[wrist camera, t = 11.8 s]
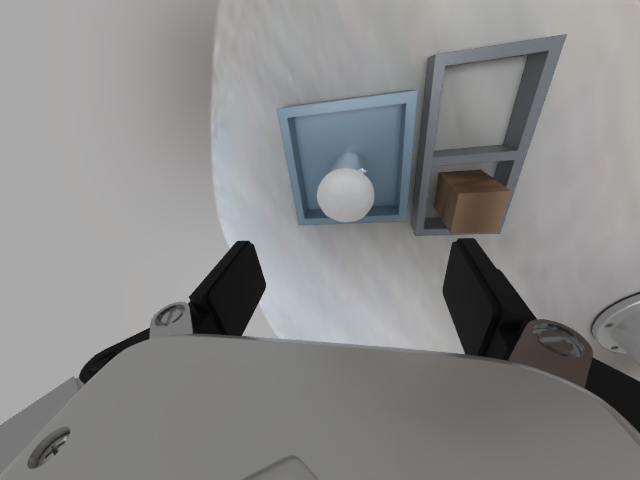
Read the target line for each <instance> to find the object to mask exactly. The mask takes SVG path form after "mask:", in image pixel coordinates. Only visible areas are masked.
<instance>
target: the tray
mask: <svg viewBox="0 0 640 480" xmlns="http://www.w3.org/2000/svg"><path fill="white" fill-rule="evenodd" d="M417 92H418V91H417V90H407V91H400V92H392V93H385V94H377V95H370V96H362V97H354V98H347V99H339V100H332V101H324V102H317V103H309V104H302V105H294V106H287V107H282V108H279V109H277V113H278V118H279V123H280V128H281V134H282V139H283V144H284V150H285V155H286V160H287V165H288V171H289V176H290V181H291V186H292V192H293V197H294V202H295V208H296V213H297V218H298V223H299V225H320V224H346V223H373V222H400V221H406V219H407V208H408V196H409V185H410V173H411V162H412V150H413V139H414V127H415V116H416V104H417ZM345 153H354V154H357V155H358V156H359V157H360V158H361V159H362V160H363V161H364V164H365V167H366V170H367V173H368V176H369V179H370V181H371V183H372V185H373V189H374V203H373V205H372V207H371V209H370V210H369V212H368V213H367V214H366V215H365V216H364V217H363V218H361V219H360V220H357V221H353V222H339V221H336V220H334V219H331V218H330V217H328V216H327V215H325V213H324V212H323V211H322V209H321V208H320V206H319V204H318V201H317V190H318V187H319V185H320V183H321V181H322V180H323V178H324V177H325V176H326V174H327V173H328V172H329V171H330V169H331V168H332V166H333V165H334V163H335V162H336V160H337V159H338V157H340V156H342V155H343V154H345Z"/></svg>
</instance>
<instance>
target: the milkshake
mask: <svg viewBox="0 0 640 480" xmlns="http://www.w3.org/2000/svg"><path fill="white" fill-rule="evenodd" d="M317 201H318V204H319V206H320V208H321V209H322V211H323V212H324V213H325V215H327V216H328V217H330V218H331V219H334V220H336V221H339V222H353V221H357V220H360V219H361V218H363V217H364V216H365V215H366V214H367V213H368V212H369V210H370V209H371V207H372V205H373V203H374V189H373V185H372V183H371V181H370V179H369V176H368V173H367V170H366V167H365V164H364V161H363V160H362V159H361V158H360V157H359V156H358V155H357V154H354V153H345V154H343V155H342V156H340V157H338V159H337V160H336V162H335V163H334V165H333V166H332V168H331V169H330V171H329V172H328V173H327V174H326V176H325V177H324V178H323V180H322V181H321V183H320V185H319V187H318V190H317Z"/></svg>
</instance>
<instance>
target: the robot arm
mask: <svg viewBox="0 0 640 480" xmlns="http://www.w3.org/2000/svg"><path fill="white" fill-rule="evenodd" d="M265 288H266V282H265V279H264V276H263V273H262V270H261V266H260V263H259V260H258V257H257V253H256V250H255V247H254V245H253V244H251V243H250V241H237V242H236V243H235V244H234V245H233V246H232V248H231V249H230V250H229V251H228V252H227V253H226V255H225V256H224V257H223V258H222V259H221V260H220V262H219V263H218V264H217V265H216V266H215V267H214V269H213V270H212V271H211V272H210V273H209V275H208V276H207V277H206V278H205V279H204V280H203V281H202V283H201V284H200V285H199V286H198V287H197V288H196V289H195V291H194V292H193V293H192V294H191V295H190V296H189V298H190V300H191V301H190V302H189V303H188V304H187V303H185V302H176V303H173V304H170V305H168V306H166V307H164V308H163V309H161V310H160V311H158V312H157V313H156V314H155V315H154V317H153V319H152V320H151V324H150V328H148V329H146V330H144V331H142V332H140V333H138V334H136V335H134V336H132V337H130V338H128V339H126V340H124V341H122V342H120V343H117V344H116V345H113V346H111V347H109V348H107V349H105V350H104V351H102V352H100V353H98V354H96V355H95V356H94V357H93V358H92V359H91V360H90V361H88V363H87V364H86V365H85V366H84V367H83V369H82V370H81V373H80V375H79V377H78V378H77V379H76V378H75V377H72V378H70V379H69V380H67V381H66V382H64V383H63V384H61V385H60V386H58V387H57V388H55V389H54V390H52V391H51V392H49V393H48V394H46V395H45V396H43V397H42V398H40V399H39V400H37V401H36V402H34V403H33V404H31V405H30V406H28V407H27V408H25V409H24V410H22V411H21V412H19V413H18V414H16V415H15V416H13V417H12V418H10V419H9V420H7V421H6V422H4V423H3V424H2V425H0V480H640V382H639V381H637V380H635V379H633V378H632V377H630V376H628V375H626V374H624V373H622V372H620V371H618V370H616V369H614V368H612V367H610V366H608V365H606V364H604V363H602V362H600V361H598V360H597V359H595V358H593V350H592V348H591V346H590V344H589V343H588V342H587V341H586V340H585V339H584V338H583V337H582V336H581V335H580V334H579V333H577V332H576V331H574V330H573V329H571V328H569V327H567V326H565V325H563V324H560V323H557V322H555V321H550V320H545V319H536V317H535V316H534V315H533V313H532V312H531V311H530V309H529V308H528V306H527V305H526V304H525V302H524V301H523V300H522V298H521V297H520V296H519V294H518V293H517V292H516V290H515V289H514V288H513V286H512V285H511V284H510V282H509V281H508V280H507V278H506V277H505V276H504V274H503V273H502V272H501V271H500V270H499V269H496V267H495V266H494V265H493V263H492V262H491V261H490V259H489V258H488V256H487V255H486V254H485V252H484V251H483V250H482V248H481V247H480V245H479V244H478V243H477V241H476V240H475V239H474V238H459V239H458V240H457V242H453V243H452V246H451V251H450V256H449V261H448V265H447V270H446V275H445V280H444V285H443V296H444V298H445V301H446V304H447V306H448V309H449V312H450V315H451V317H452V320H453V323H454V325H455V328H456V331H457V333H458V336H459V339H460V341H461V344H462V347H463V349H464V352H465V354H457V353H446V352H436V351H426V350H415V349H403V348H391V347H378V346H366V345H354V344H341V343H329V342H316V341H303V340H290V339H275V338H262V337H261V338H260V337H247V336H242V334H243V332H244V330H245V328H246V326H247V324H248V322H249V320H250V319H251V317H252V314H253V313H254V311H255V309H256V307H257V305H258V303H259V301H260V299H261V297H262V295H263V293H264V291H265ZM592 333H593V336H594V338H595V339H596V340H597V341H598V342H599V344H601V345H602V346H603V347H604V348H606V349H608V350H610V351H613V352H616V353H621V354H627V355H629V356H630V357H631V358H632V359H633V360H634V361H635V362H636V363H637V364H638V365H639V366H640V294H638V295H635V296H632V297H630V298H627V299H625V300H623V301H621V302H619V303H617V304H615V305H613V306H612V307H610V308H609V309H607V310H606V311H605V312H604V313H602V314H601V315H600V316H599V317H598V319H597V320H596V321H595V323H594V325H593V329H592Z"/></svg>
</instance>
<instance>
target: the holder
mask: <svg viewBox="0 0 640 480" xmlns="http://www.w3.org/2000/svg"><path fill="white" fill-rule="evenodd" d="M566 35H567V34H565V35H558V36H552V37H546V38H539V39H533V40H526V41H520V42H513V43H507V44H501V45H494V46H488V47H481V48H475V49H468V50H462V51H455V52H449V53H443V54H436V55H433V56H431V57H429V58H428V62H427V72H426V82H425V92H424V102H423V112H422V122H421V132H420V142H419V152H418V162H417V172H416V182H415V192H414V202H413V212H412V222H411V226H412V229H413V231H414V234H415V236H427V235H464V234H500V232H501V229H502V226H503V223H504V220H505V217H506V214H507V211H508V208H509V205H510V202H511V199H512V196H513V193H514V190H515V187H516V184H517V181H518V178H519V175H520V172H521V169H522V166H523V163H524V160H525V157H526V154H527V151H528V148H529V146H530V143H531V140H532V137H533V134H534V131H535V128H536V125H537V122H538V119H539V116H540V113H541V110H542V107H543V104H544V101H545V98H546V95H547V92H548V89H549V86H550V83H551V80H552V77H553V74H554V71H555V68H556V65H557V62H558V59H559V56H560V53H561V50H562V47H563V44H564V41H565V38H566ZM528 54H529V55H528ZM521 55H528V58H527V62H526V66H525V69H524V73H523V76H522V80H521V84H520V87H519V91H518V94H517V98H516V101H515V105H514V109H513V112H512V116H511V119H510V123H509V126H508V130H507V134H506V137H505V141H504V144H503V145H496V146H485V147H473V148H462V149H450V150H439V151H434V147H435V139H436V132H437V124H438V117H439V109H440V102H441V94H442V87H443V79H444V72H445V67H446V66H452V65H459V64H466V63H473V62H480V61H487V60H494V59H500V58H507V57H514V56H521ZM495 161H499V162H498V166H497V169H496V173H495V176H494V179H495V180H496V181H498V182H499V183H501V184H502V185H504V186H505V187H506V188H508V189H509V190H511V193H510V196H509V199H508V202H507V205H506V208H505V211H504V214H503V217H502V220H501V223H500V226H499V230H498V232H490V233H453V234H450V232H449V231H448V229H447V227H446V226H445V224H444V223H443V221H442V219H441V218H431V219H425V214H426V207H427V199H428V192H429V184H430V177H431V169H432V166H442V165H455V164H468V163H482V162H495Z"/></svg>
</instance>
